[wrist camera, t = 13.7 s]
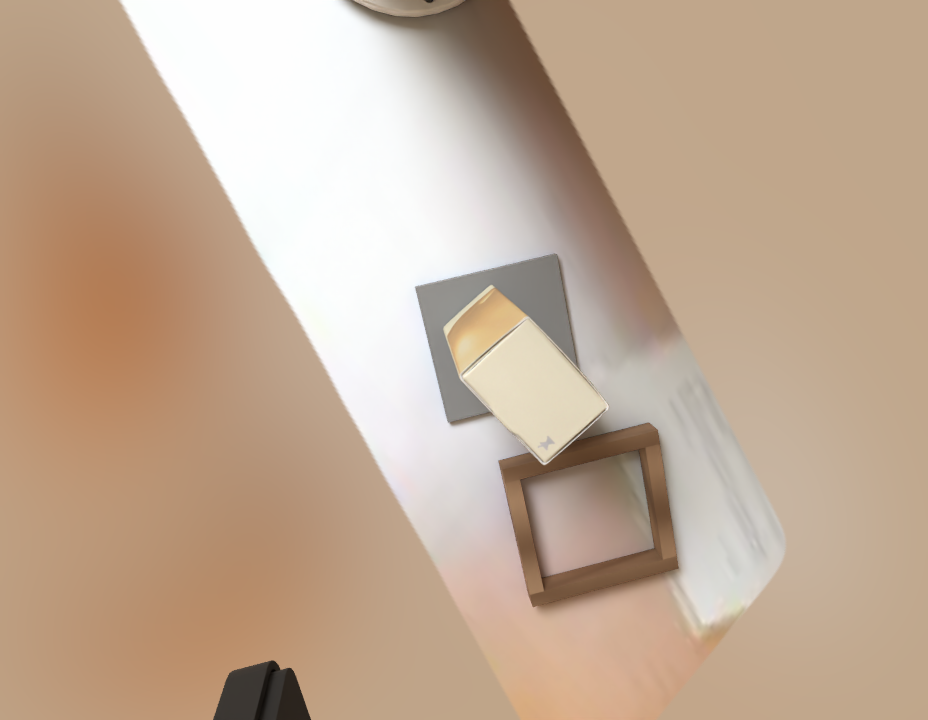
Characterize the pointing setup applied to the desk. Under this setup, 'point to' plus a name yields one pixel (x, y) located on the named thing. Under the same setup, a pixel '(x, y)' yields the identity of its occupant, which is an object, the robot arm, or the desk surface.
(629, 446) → the square wooden frame
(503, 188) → the desk surface
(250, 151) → the desk surface
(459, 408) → the rubber mat
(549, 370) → the skincare box
